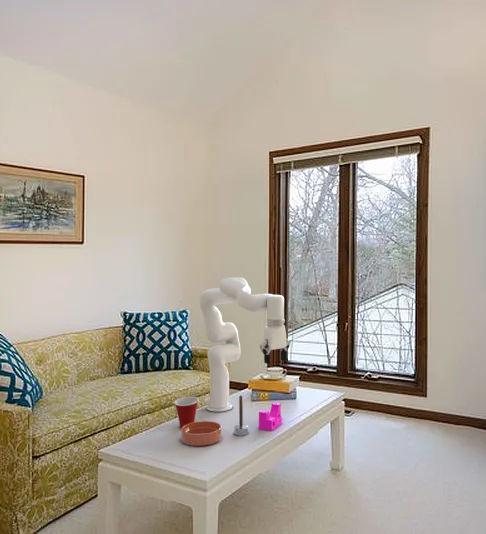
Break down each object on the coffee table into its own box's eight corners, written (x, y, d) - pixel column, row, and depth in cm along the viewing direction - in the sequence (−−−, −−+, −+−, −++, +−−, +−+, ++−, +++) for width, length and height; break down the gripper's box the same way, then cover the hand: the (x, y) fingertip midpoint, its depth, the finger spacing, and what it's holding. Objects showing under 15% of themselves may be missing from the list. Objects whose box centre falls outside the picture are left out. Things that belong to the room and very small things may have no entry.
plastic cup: (169, 427, 217) (168, 400, 217) (189, 421, 225) (189, 395, 225) (183, 432, 210) (183, 404, 209) (203, 426, 217) (203, 399, 217)
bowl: (173, 442, 198) (172, 430, 198) (199, 430, 212) (198, 418, 212) (204, 449, 190) (204, 437, 190) (229, 436, 204) (229, 424, 204)
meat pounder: (231, 434, 208) (231, 396, 207) (239, 430, 212) (239, 393, 212) (242, 436, 205) (242, 397, 205) (250, 432, 210) (250, 394, 210)
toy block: (271, 430, 212) (271, 413, 211) (258, 428, 214) (258, 411, 214) (285, 420, 225) (285, 404, 225) (273, 418, 228) (273, 402, 228)
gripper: (284, 320, 225) (284, 357, 225) (254, 324, 213) (254, 363, 213) (295, 322, 219) (295, 360, 219) (266, 325, 207) (266, 366, 208)
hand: (275, 361), depth 216 cm, fingers open, 9 cm apart
